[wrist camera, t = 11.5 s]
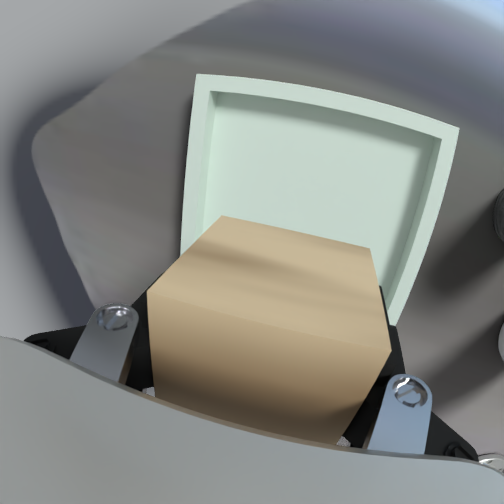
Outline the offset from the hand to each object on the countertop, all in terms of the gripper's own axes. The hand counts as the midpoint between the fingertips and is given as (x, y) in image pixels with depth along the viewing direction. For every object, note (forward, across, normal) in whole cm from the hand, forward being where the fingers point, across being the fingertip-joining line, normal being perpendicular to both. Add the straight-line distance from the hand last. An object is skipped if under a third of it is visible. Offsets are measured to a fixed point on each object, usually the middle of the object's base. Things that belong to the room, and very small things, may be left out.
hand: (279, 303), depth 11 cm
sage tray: (+12, 0, 0) cm, 12 cm away
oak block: (+1, 0, 0) cm, 1 cm away
